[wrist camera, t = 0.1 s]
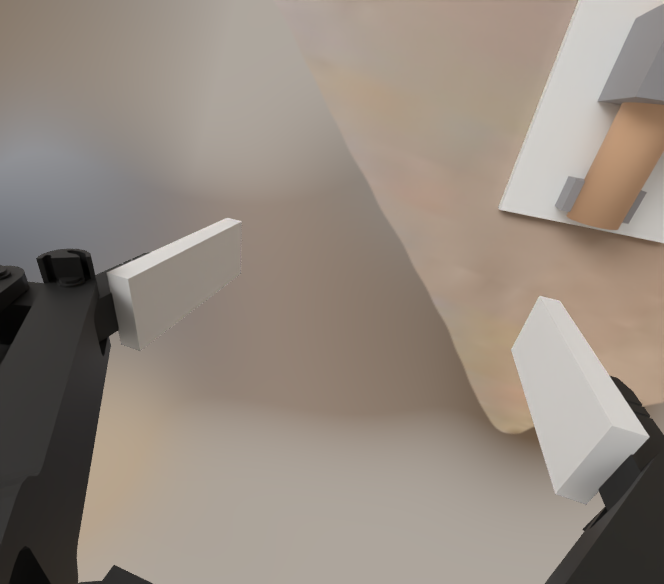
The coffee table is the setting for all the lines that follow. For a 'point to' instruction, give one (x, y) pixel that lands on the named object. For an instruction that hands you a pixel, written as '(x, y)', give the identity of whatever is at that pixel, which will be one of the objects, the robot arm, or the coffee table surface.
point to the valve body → (599, 125)
